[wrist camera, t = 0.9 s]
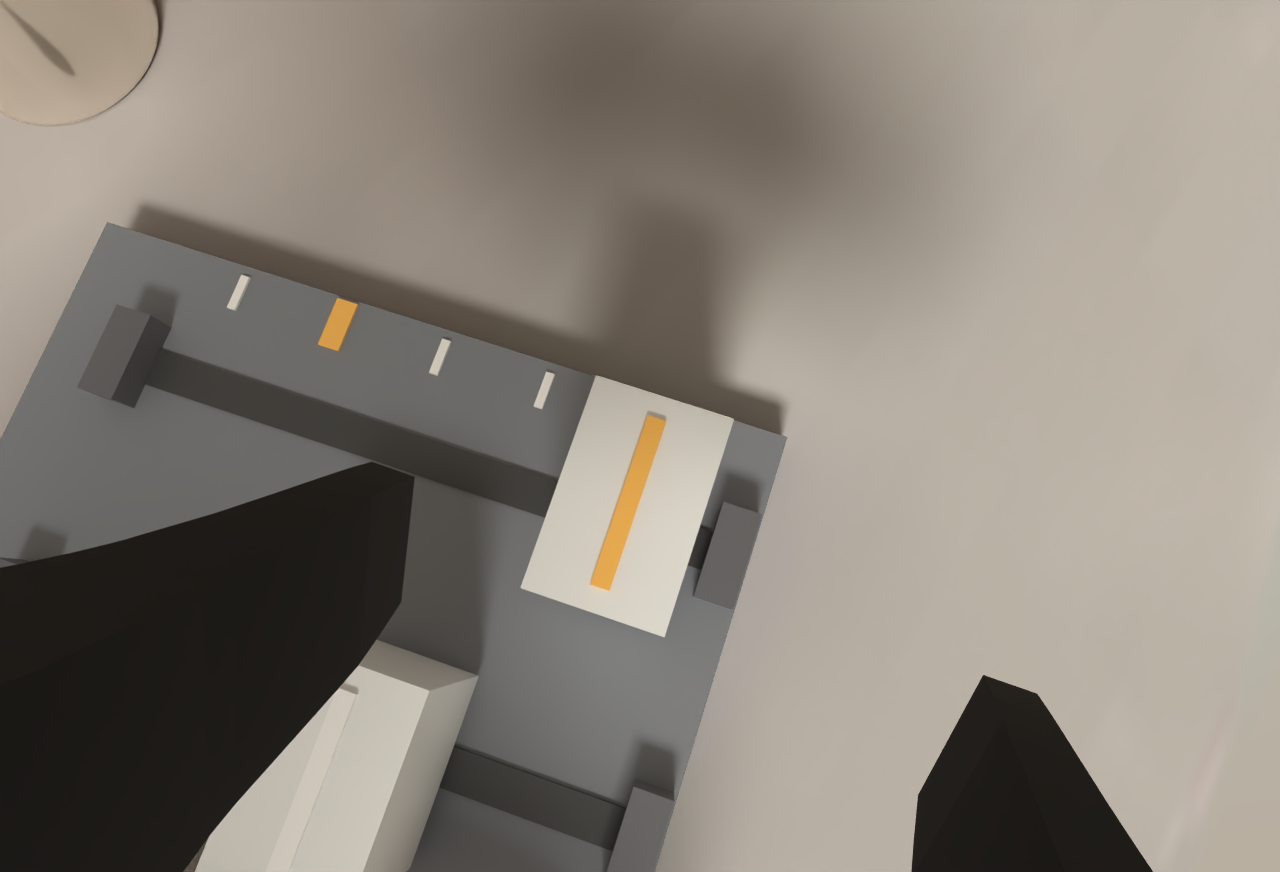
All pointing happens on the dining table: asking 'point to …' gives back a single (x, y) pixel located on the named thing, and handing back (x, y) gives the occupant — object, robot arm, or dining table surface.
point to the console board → (438, 533)
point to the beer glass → (72, 56)
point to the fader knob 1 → (352, 775)
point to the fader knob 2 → (628, 505)
